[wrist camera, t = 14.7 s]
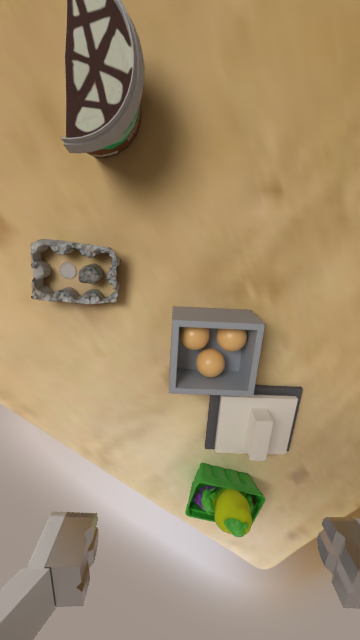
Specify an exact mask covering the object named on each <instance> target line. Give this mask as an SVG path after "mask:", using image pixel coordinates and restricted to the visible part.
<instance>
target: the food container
mask: <svg viewBox="0 0 360 640" xmlns="http://www.w3.org/2000/svg"><path fill="white" fill-rule="evenodd" d="M65 65H66V138H63V137H60V139H62V140H63V141H64V142H63V144H64V146H65V147H66V149H67V150H68V151H69V153H88V154H90V155H92V156H94V157H102V158H106V157H110V156H113V155H117V154H119V153H120V152H122V151H123V150H125V149H126V148H127V147H129V145H130V144H131V142H132V141H133V140H134V138H135V137H136V135H137V132H138V129H139V126H140V121H141V104H140V101H141V98H142V93H143V86H144V61H143V53H142V49H141V44H140V40H139V37H138V34H137V32H136V29H135V27H134V24H133V22H132V20H131V18H130V17H129V15H128V13H127V11H126V9H125V7H124V5H123V3H122V1H121V0H67V35H66V53H65Z"/></svg>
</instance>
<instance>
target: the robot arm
mask: <svg viewBox="0 0 360 640" xmlns="http://www.w3.org/2000/svg"><path fill="white" fill-rule="evenodd" d="M97 521H98V517H97V513H74V512H52V514H51V515H50V517H49V518H48V521H47V523H46V525H45V528H44V530H43V532H42V534H41V537H40V539H39V541H38V543H37V546H36V548H35V550H34V552H33V555H32V557H31V559H30V561H29V564H28V566H27V568H21V569H20V570H19V572H17V573H16V574H15V575H14V576H13V577H12V578H11V579H10V580H9V581H8V582H7V583H6V584H5V585H4V586H3V587H2V588H1V589H0V640H33V639H34V638H35V636H36V635H37V634H38V632H39V631H40V630H41V628H42V627H43V625H44V624H45V623H46V621H47V620H48V618H49V617H50V616H51V614H52V613H53V612H54V610H55V607H62V606H83V605H84V601H85V596H86V593H87V589H88V585H89V581H90V575H89V568H90V567H91V566H92V564H93V563H94V560H95V555H96V551H97V544H98V529H97V527H96V525H97ZM322 526H323V528H324V529H323V530H322V531H321V532H320V533H319V535H318V539H317V541H318V550H319V553H320V556H321V559H322V561H323V563H324V565H325V567H326V568H327V569H328V570H329V571H330V572H331V573H332V574H333V576H332V583H333V586H334V588H335V590H336V592H337V594H338V597H339V599H340V601H341V603H342V605H343V607H344V608H360V518H352V517H326V518H325V519H323V522H322Z"/></svg>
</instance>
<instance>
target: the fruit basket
mask: <svg viewBox="0 0 360 640" xmlns="http://www.w3.org/2000/svg"><path fill="white" fill-rule="evenodd" d="M264 502H265V497H264V495H263V494H262V493H261V492H260V491H259V489H258V488H257V486H256V485H255V483H254V482H253V480H252V479H251V477H250V476H249V474H247V473H242V472H239V473H238V472H237V471H234V470H230V469H224V468H221V467H217V466H211V465H209V464H205V463H201V464H200V468H199V469H198V471H197V473H196V476H195V479H194V481H193V483H192V487H191V492H190V497H189V501H188V504H187V507H186V512H185V513H186V515H187V516H189V517H194V518H199V519H204V520H208V521H213V522H216V524H217V525H218V527H219V528H220V529H221V530H222V531H224V532H227V533H230V534H233V535H234V536H236V537H242V536H244V535H245V534H247V533H248V532H249V530H250V528H251V526H252V524H253V522H254V520H255V518H256V516H257V514H258V513H259V511H260V509H261V507H262V506H263V504H264Z"/></svg>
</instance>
